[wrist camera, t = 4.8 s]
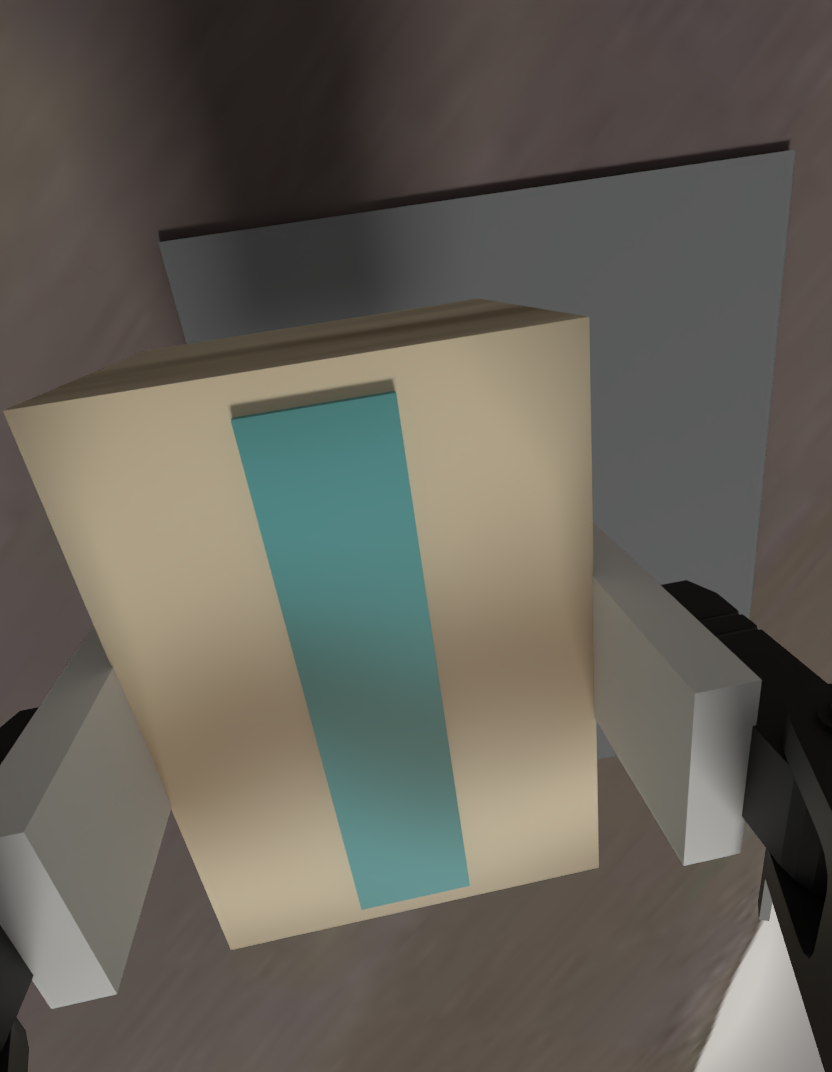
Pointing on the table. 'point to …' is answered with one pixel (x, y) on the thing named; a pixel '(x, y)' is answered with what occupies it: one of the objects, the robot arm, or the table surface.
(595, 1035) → the table surface
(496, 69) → the table surface
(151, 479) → the maple block
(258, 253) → the rubber mat
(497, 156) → the table surface
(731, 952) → the table surface
